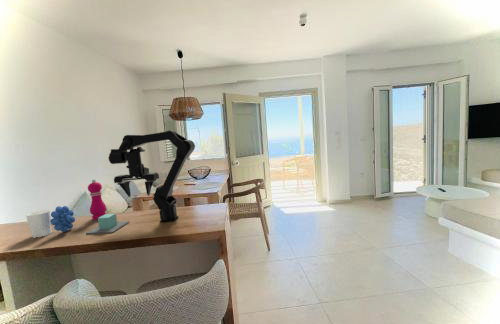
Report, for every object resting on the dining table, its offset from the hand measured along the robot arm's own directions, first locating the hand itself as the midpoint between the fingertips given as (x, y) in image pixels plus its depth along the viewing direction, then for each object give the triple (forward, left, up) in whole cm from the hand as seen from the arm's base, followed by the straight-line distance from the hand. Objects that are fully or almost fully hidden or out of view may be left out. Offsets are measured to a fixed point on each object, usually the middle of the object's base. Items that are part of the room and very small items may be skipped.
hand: (139, 196), depth 115 cm
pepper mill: (+27, -8, -12) cm, 31 cm away
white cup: (+40, +11, -12) cm, 43 cm away
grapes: (+30, +9, -12) cm, 34 cm away
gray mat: (+12, +7, -12) cm, 18 cm away
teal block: (+12, +7, -11) cm, 18 cm away
